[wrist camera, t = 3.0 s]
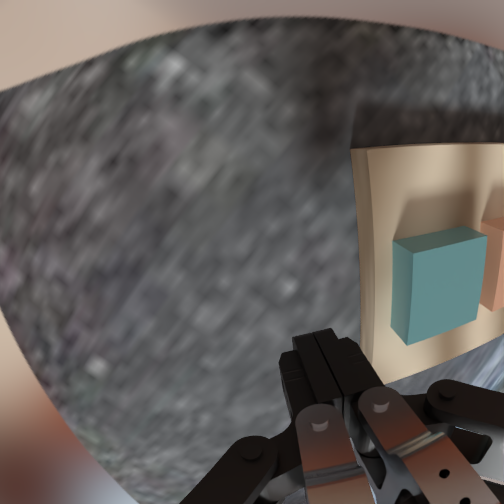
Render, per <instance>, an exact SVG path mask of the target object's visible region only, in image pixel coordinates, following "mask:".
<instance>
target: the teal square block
mask: <svg viewBox="0 0 504 504" xmlns="http://www.w3.org/2000/svg"><path fill="white" fill-rule="evenodd" d="M486 247H487V235H485V234H483V233H481V232H478V231H476V230H473V229H471V228H469V227H466V226H460V227H456V228H451V229H446V230H442V231H437V232H432V233H427V234H422V235H418V236H413V237H408V238H403V239H398V240H393V241H392V305H391V324H390V327H391V328H392V329H393V330H394V331H395V333H396V334H397V335H398V336H399V337H400V338H401V340H402V341H403V342H404V343H405V344H406V345H407V346H408V345H411V344H414V343H417V342H420V341H423V340H425V339H428V338H431V337H434V336H436V335H439V334H441V333H444V332H447V331H449V330H452V329H454V328H457V327H459V326H462V325H464V324H467V323H469V322H471V321H474V320H476V318H477V313H478V307H479V302H480V296H481V289H482V283H483V275H484V267H485V258H486Z"/></svg>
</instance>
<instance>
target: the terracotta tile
mask: <svg viewBox="0 0 504 504" xmlns="http://www.w3.org/2000/svg"><path fill="white" fill-rule="evenodd" d="M480 232H481V233H483V234H485V235H487V247H486V258H485V267H484V275H483V283H482V289H481V296H480V302H479V303H480V304H481V305H483V306H484V307H486V308H487V309H488V310H490V311H491V312H494V311H496V310H498V309H500V308H502V307H504V217H501V218H496V219H491V220H487V221H482V222H481V223H480Z"/></svg>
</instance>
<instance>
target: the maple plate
mask: <svg viewBox="0 0 504 504" xmlns="http://www.w3.org/2000/svg"><path fill="white" fill-rule="evenodd" d="M350 153H351V161H352V170H353V179H354V189H355V200H356V212H357V225H358V241H359V261H360V296H361V333H360V348H361V350H362V351H363V354H364V355H365V356H366V358H367V360H368V361H369V362H370V364H371V365H372V367H373V368H374V370H375V371H376V373H377V375H378V376H379V378H380V379H381V381H382V382H383V384H387V383H390V382H393V381H396V380H399V379H401V378H404V377H407V376H410V375H412V374H415V373H418V372H420V371H423V370H426V369H428V368H431V367H433V366H435V365H438V364H440V363H443V362H445V361H447V360H450V359H452V358H454V357H457V356H459V355H461V354H463V353H466V352H468V351H470V350H472V349H474V348H476V347H478V346H480V345H482V344H484V343H486V342H488V341H490V340H492V339H494V338H496V337H498V336H500V335H502V334H504V307H502V308H500V309H498V310H496V311H494V312H491V311H490V310H488V309H487V308H486V307H484V306H483V305H481V304H480V303H479V307H478V313H477V318H476V320H474V321H471V322H469V323H467V324H464V325H462V326H459V327H457V328H454V329H452V330H449V331H447V332H444V333H441V334H439V335H436V336H434V337H431V338H428V339H425V340H423V341H420V342H417V343H414V344H411V345H408V346H407V345H406V344H405V343H404V342H403V341H402V340H401V338H400V337H399V336H398V335H397V334H396V333H395V331H394V330H393V329H392V328H391V327H390V324H391V305H392V241H393V240H398V239H403V238H408V237H413V236H418V235H422V234H427V233H432V232H437V231H442V230H446V229H451V228H456V227H460V226H466V227H469V228H471V229H473V230H476V231H478V232H480V223H481V222H482V221H487V220H491V219H496V218H501V217H504V143H429V144H408V145H392V146H378V147H366V148H355V149H350Z"/></svg>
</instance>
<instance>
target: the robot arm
mask: <svg viewBox="0 0 504 504" xmlns="http://www.w3.org/2000/svg"><path fill="white" fill-rule="evenodd" d="M292 343H293V351H288V352H284V353H282V354H281V357H280V360H279V368H280V374H281V380H282V387H283V392H284V396H285V399H286V403H287V407H288V410H289V414H290V418H291V424H290V425H289V427H288V428H287V429H286V430H285V431H283V432H282V433H280V434H279V435H277V436H275V437H272V438H270V439H268V438H266V437H262V436H248V437H244V438H241V439H239V440H238V441H236V442H235V443H234V444H233V445H232V446H231V447H230V448H229V449H228V450H227V452H226V453H225V454H224V455H223V456H222V457H221V459H220V460H219V461H218V462H217V463H216V464H215V465H214V467H213V468H212V469H211V470H210V471H209V472H208V473H207V474H206V476H205V477H204V478H203V479H202V480H201V481H200V482H199V483H198V484H197V485H196V486H195V488H194V489H193V490H192V491H191V492H190V493H189V494H188V495H187V496H186V497H185V498H184V499H183V500H182V501H181V502H180V503H179V504H282V503H283V501H284V500H285V498H286V496H288V495H290V494H292V493H294V492H296V491H298V490H300V489H301V488H303V487H304V490H305V496H306V502H307V504H375V501H374V498H373V495H372V492H371V488H370V486H371V487H372V489H373V491H374V493H375V496H376V501H377V504H504V485H500V484H498V483H494V482H491V481H487V480H483V479H481V477H480V476H483V477H487V478H491V479H495V480H499V481H503V482H504V393H500V392H496V391H492V390H488V389H484V388H481V387H477V386H473V385H469V384H465V383H462V382H458V381H454V380H449V379H444V380H439V381H437V382H435V383H433V384H432V385H431V386H430V387H429V388H428V391H427V393H426V394H418V395H400V394H399V393H398V392H397V391H396V390H394V389H392V388H389V387H385V385H384V384H383V382H382V381H381V379H380V378H379V376H378V375H377V373H376V371H375V370H374V368H373V367H372V365H371V364H370V362H369V361H368V360H367V358H366V356H365V355H364V354H363V351H362V350H361V348H360V347H359V345H358V344H357V343H356V342H354V341H353V340H351V339H349V338H348V337H345V338H342V339H338V338H337V336H336V335H335V333H334V331H333V330H332V328H328V329H324V330H320V331H316V332H312V333H308V334H303V335H299V336H295V337H292ZM455 426H456V427H460V428H463V429H467V430H470V431H474V432H477V433H481V434H484V435H481V434H477V433H473V432H470V431H466V430H463V429H460V428H456V427H455ZM350 437H351V438H352V441H353V443H354V451H353V448H352V444H351V441H350ZM356 459H357V460H356ZM357 461H358V463H359V465H360V466H359V465H358V463H357ZM369 484H370V485H369Z"/></svg>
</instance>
